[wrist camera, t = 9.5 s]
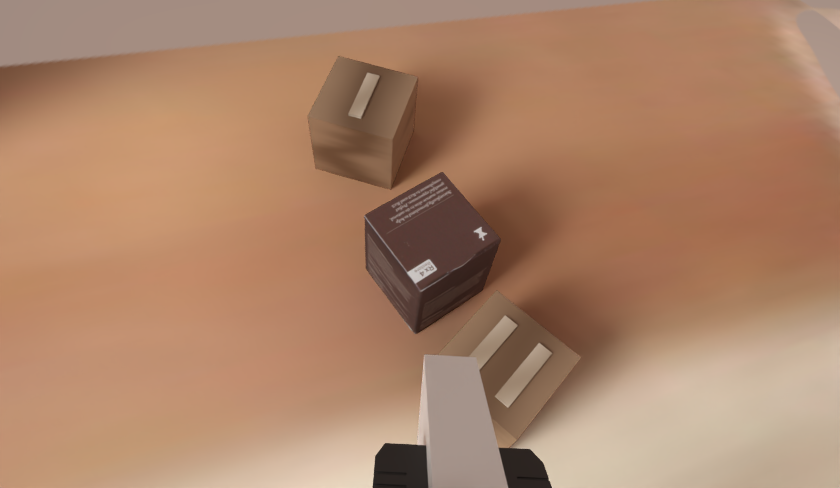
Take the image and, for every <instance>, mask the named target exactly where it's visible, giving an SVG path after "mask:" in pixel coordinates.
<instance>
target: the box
mask: <svg viewBox="0 0 840 488" xmlns="http://www.w3.org/2000/svg"><path fill="white" fill-rule="evenodd" d="M364 218H365V252H366V269H367V271H368V272H369V274H370V275H371V276H372V278H373V279H374V280H375V282H376V283H377V284H378V286H379V287H380V288H381V289H382V291H383V292H384V293H385V295H386V296H387V298H388V299H389V300H390V302H391V303H392V304H393V306H394V307H395V308H396V310H397V311H398V313H399V314H400V315H401V317H402V318H403V319H404V321H405V322H406V324H407V325H408V327H409V328H410V329H411V330H412V331H413V332H414V334H416V333H418V332H420V331H421V330H422V329H424V328H426V327H427V326H429V325H430V324H432V323H433V322H435V321H436V320H438V319H439V318H441V317H442V316H444V315H445V314H447V313H449V312H450V311H452V310H453V309H455V308H456V307H458V306H459V305H461V304H462V303H464V302H465V301H467V300H468V299H470V298H471V297H473V296H474V295H476V294H477V293H479V292H480V291H482V290H483V287H484V285H485V282H486V279H487V276H488V274H489V271H490V268H491V266H492V262H493V260H494V257H495V254H496V252H497V249H498V245H499V243H500V241H501V239H500V238H499V237H498V235H497V234H496V233H495V232H494V231H493V230H492V228H491V227H490V226H489V225H488V224H487V223H486V222H485V221H484V219H483V218H482V217H481V216H480V215H479V214H478V212H477V211H476V210H475V209H474V208H473V207H472V206H471V204H470V203H469V202H468V201H467V200H466V199H465V197H464V196H463V195H462V194H461V193H460V192H459V190H458V189H457V188H456V187H455V186H454V184H453V183H452V182H451V181H450V180H449V179H448V178H447V176H446V175H445V174H444V173H443V172H441V173H439V174H437V175H435V176H434V177H432V178H430V179H428V180H426V181H425V182H423V183H421V184H419V185H417V186H416V187H414V188H412V189H410V190H408V191H407V192H405V193H403V194H401V195H399V196H398V197H396V198H394V199H392V200H391V201H389V202H387V203H385V204H383V205H382V206H380V207H378V208H376V209H375V210H373V211H371V212H369V213H367V214H366V215H365V216H364Z"/></svg>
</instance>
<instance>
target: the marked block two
mask: <svg viewBox="0 0 840 488" xmlns="http://www.w3.org/2000/svg"><path fill="white" fill-rule="evenodd" d="M438 355H444V356H461V357H476V359H477V363H478V367H479V371H480V375H481V379H482V383H483V388H484V392H485V396H486V400H487V404H488V408H489V412H490V416H491V420H492V424H493V428H494V432H495V436H496V440H497V444H498V448H509V447H510V446H511V445H513V444H514V443H515V442H516V441H517V440H518V438H519V437H520V436H521V434H522V433H523V432H524V431H525V429H526V428H527V427H528V425H529V424H530V423H531V422H532V420H533V419H534V418H535V416H536V415H537V414H538V413H539V411H540V410H541V409H542V407H543V406H544V405H545V404H546V402H547V401H548V400H549V398H550V397H551V396H552V395H553V393H554V392H555V391H556V389H557V388H558V387H559V386H560V384H561V383H562V382H563V380H564V379H565V378H566V377H567V375H568V374H569V373H570V371H571V370H572V369H573V368H574V366H575V365H576V364H577V362H578V361H579V360H580V359H581V357H580V356H579V355H578V354H576V353H575V352H574V351H573V350H571V349H570V348H569V347H568V346H566V345H565V344H564V343H563V342H561V341H560V340H559V339H558V338H556V337H555V336H554V335H553V334H551V333H550V332H549V331H547V330H546V329H545V328H544V327H542V326H541V325H540V324H539V323H537V322H536V321H535V320H534V319H532V318H531V317H530V316H529V315H527V314H526V313H525V312H524V311H522V310H521V309H520V308H519V307H517V306H516V305H515V304H514V303H512V302H511V301H510V300H509V299H507V298H506V297H505V296H504V295H502V294H501V293H500V292H499V291H497V290H496V291H495V293H494V294H493V295H492V296H491V297H490V298H489V299H488V300H487V301H486V302H485V303H484V305H483V306H482V307H481V308H480V309H479V310H478V311H477V312H476V313H475V314H474V315H473V317H472V318H471V319H470V320H469V321H468V322H467V323H466V324H465V325H464V326H463V327H462V329H461V330H460V331H459V332H458V333H457V334H456V335H455V336H454V337H453V338H452V340H451V341H450V342H449V343H448V344H447V345H446V346H445V347H444V348H443V349H442V350H441V352H440V353H439V354H438Z"/></svg>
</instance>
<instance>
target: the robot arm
mask: <svg viewBox="0 0 840 488" xmlns="http://www.w3.org/2000/svg"><path fill="white" fill-rule="evenodd" d="M417 441H418V445H409V444H390V443H385V444H384V445H383V447H382V448H381V449H380V451H379V452H378V453H377V455H376V456H375V467H374V479H373V488H552V487H551V484H550V481H549V480H548V475H547V472H546V470H545V467H544V464H543V462H542V461H541V460H540V459H539V458H538V457H537V456H536V455H535V454H534V453H533V452H532V451H531V450H530V449H515V448H498V444H497V440H496V436H495V432H494V428H493V424H492V420H491V416H490V412H489V408H488V404H487V400H486V396H485V392H484V388H483V383H482V379H481V375H480V371H479V367H478V363H477V359H476V357H461V356H444V355H427V354H424V364H423V376H422V388H421V400H420V412H419V424H418V436H417Z"/></svg>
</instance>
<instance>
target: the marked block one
mask: <svg viewBox="0 0 840 488" xmlns="http://www.w3.org/2000/svg"><path fill="white" fill-rule="evenodd" d="M417 83H418V77H417V76H413V75H409V74H405V73H402V72H398V71H394V70H390V69H386V68H383V67H379V66H375V65H371V64H367V63H364V62H360V61H356V60H352V59H348V58H345V57H341V56H338V58H337V60H336V62H335V64H334V66H333V68H332V70H331V71H330V73H329V75H328V77H327V79H326V81H325V83H324V85H323V87H322V89H321V91H320V93H319V95H318V97H317V99H316V101H315V103H314V105H313V107H312V109H311V111H310V113H309V115H308V123H309V129H310V136H311V142H312V149H313V155H314V162H315V168H316V169H319V170H322V171H326V172H329V173H333V174H337V175H340V176H344V177H347V178H351V179H354V180H358V181H361V182H365V183H368V184H372V185H376V186H379V187H383V188H386V189H390V190H391V188H392V185H393V183H394V180H395V178H396V175H397V172H398V170H399V167H400V165H401V162H402V159H403V157H404V154H405V152H406V149H407V147H408V144H409V141H410V139H411V136H412V134H413V131H414V120H415V108H416V96H417Z"/></svg>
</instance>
